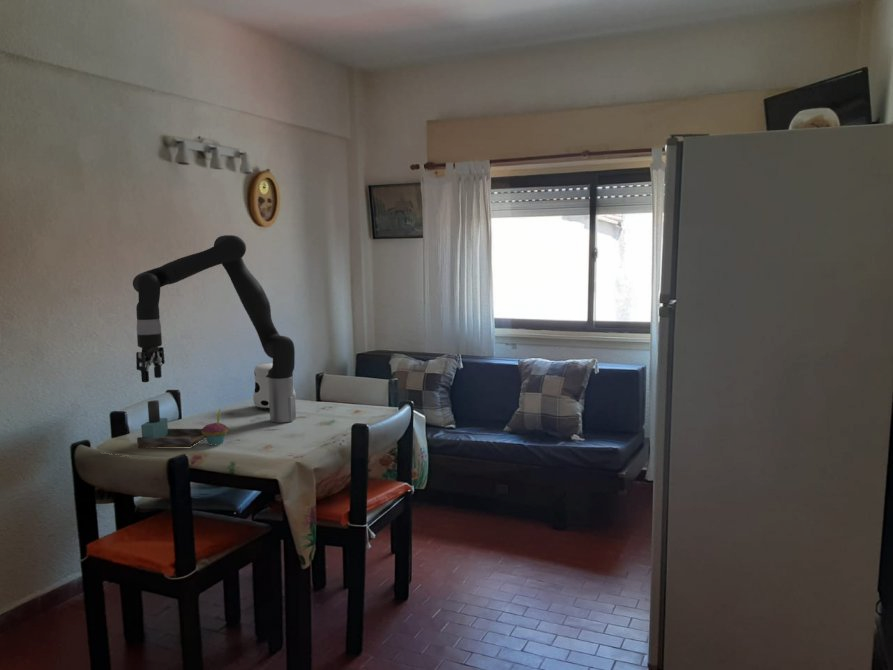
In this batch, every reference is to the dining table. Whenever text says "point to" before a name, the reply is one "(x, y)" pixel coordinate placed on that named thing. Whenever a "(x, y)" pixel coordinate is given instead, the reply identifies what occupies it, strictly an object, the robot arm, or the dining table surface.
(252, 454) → the dining table surface
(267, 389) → the milk container
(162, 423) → the press jaw
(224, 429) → the cupcake
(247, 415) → the dining table surface
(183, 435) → the press base
